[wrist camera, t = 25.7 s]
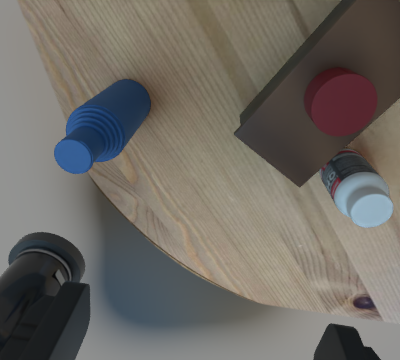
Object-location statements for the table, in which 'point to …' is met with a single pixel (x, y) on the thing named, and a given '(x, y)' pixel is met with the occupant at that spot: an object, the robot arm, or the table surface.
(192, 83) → the table surface
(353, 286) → the table surface
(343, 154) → the pill bottle
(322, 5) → the table surface
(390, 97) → the brown rectangular box
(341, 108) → the dark red short cylinder
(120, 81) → the bottle
